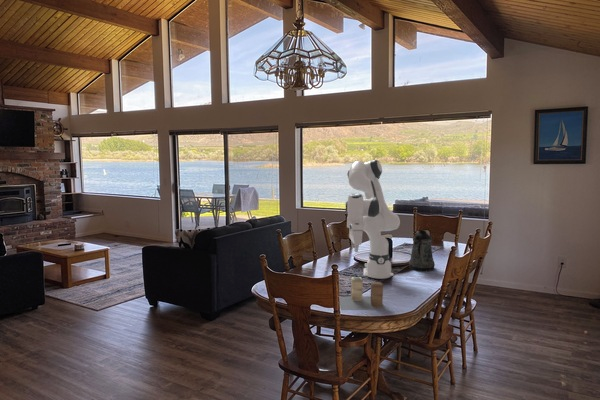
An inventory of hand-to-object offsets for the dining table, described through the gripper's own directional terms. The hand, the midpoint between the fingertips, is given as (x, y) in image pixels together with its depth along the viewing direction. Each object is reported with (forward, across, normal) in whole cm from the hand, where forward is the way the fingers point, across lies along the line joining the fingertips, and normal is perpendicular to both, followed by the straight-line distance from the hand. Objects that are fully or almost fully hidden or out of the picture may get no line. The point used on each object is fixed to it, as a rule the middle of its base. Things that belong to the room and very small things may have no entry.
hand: (354, 249), depth 234 cm
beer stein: (+24, -50, +52) cm, 76 cm away
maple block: (+24, +9, 0) cm, 26 cm away
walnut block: (+24, +18, +8) cm, 31 cm away
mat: (+25, +14, +1) cm, 29 cm away
